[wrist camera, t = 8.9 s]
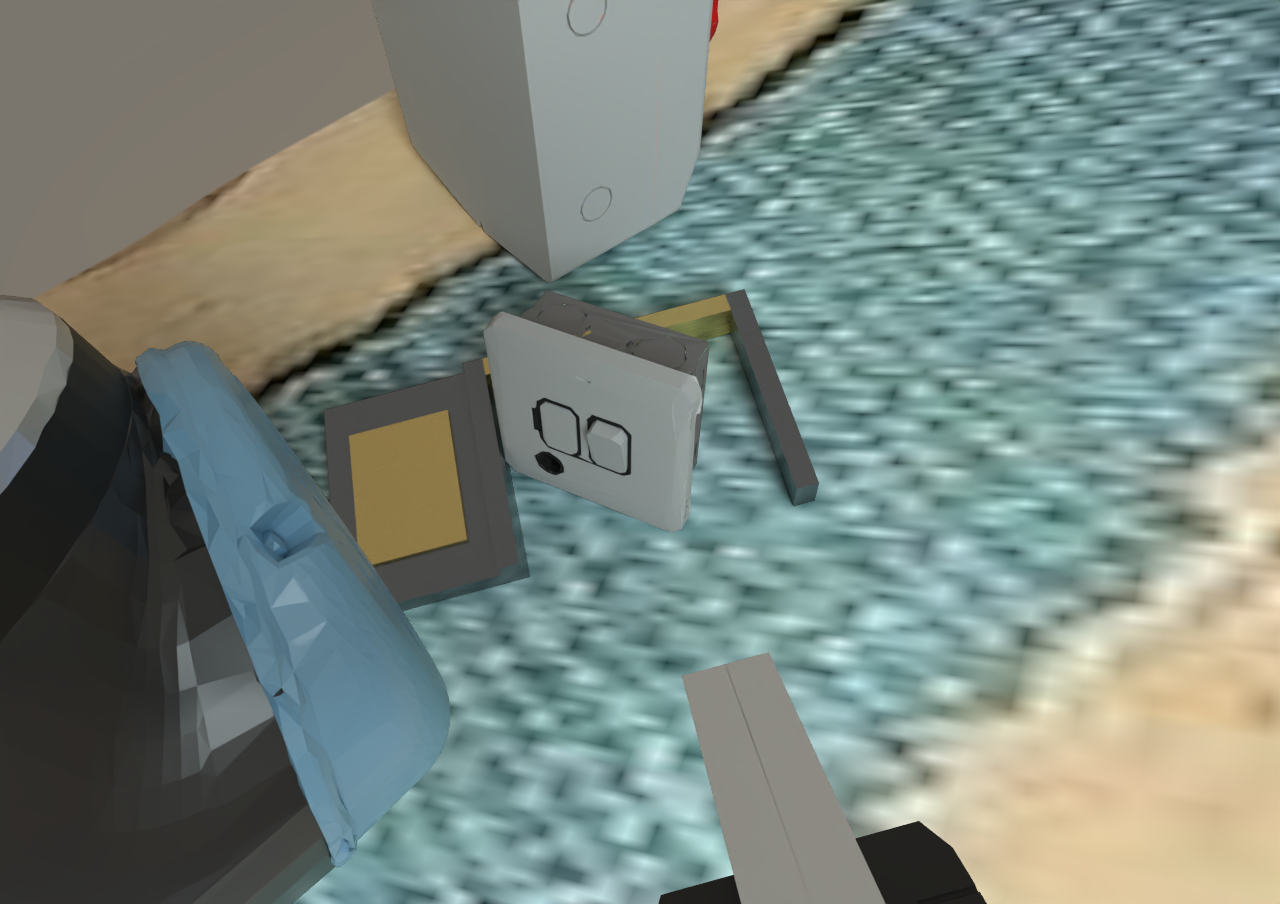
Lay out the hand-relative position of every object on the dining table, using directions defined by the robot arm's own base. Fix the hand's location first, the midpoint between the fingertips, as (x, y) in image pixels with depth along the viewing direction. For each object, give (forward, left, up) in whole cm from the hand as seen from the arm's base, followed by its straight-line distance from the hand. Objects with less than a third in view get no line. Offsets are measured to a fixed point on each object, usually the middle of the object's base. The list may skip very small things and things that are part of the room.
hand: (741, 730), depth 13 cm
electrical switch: (-2, +16, -20) cm, 26 cm away
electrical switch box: (+2, +36, -20) cm, 41 cm away
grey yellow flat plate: (-4, +16, -20) cm, 26 cm away
